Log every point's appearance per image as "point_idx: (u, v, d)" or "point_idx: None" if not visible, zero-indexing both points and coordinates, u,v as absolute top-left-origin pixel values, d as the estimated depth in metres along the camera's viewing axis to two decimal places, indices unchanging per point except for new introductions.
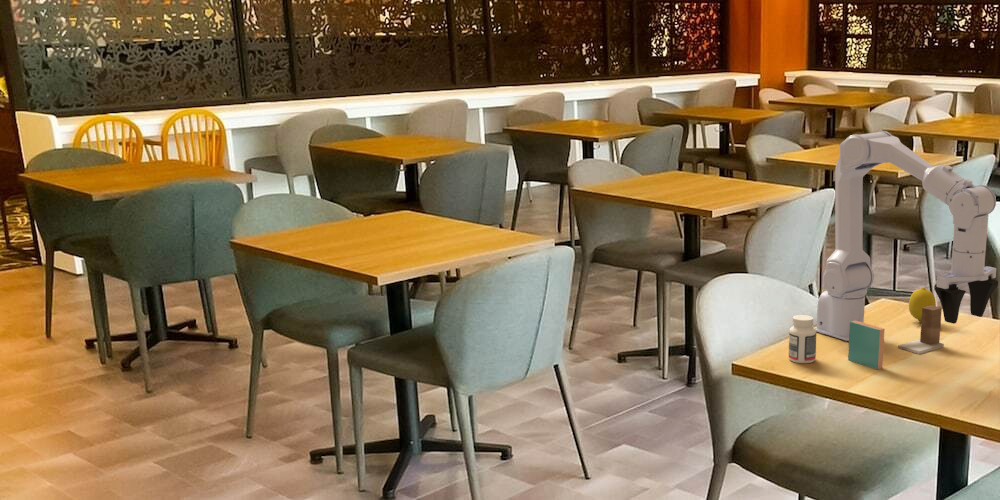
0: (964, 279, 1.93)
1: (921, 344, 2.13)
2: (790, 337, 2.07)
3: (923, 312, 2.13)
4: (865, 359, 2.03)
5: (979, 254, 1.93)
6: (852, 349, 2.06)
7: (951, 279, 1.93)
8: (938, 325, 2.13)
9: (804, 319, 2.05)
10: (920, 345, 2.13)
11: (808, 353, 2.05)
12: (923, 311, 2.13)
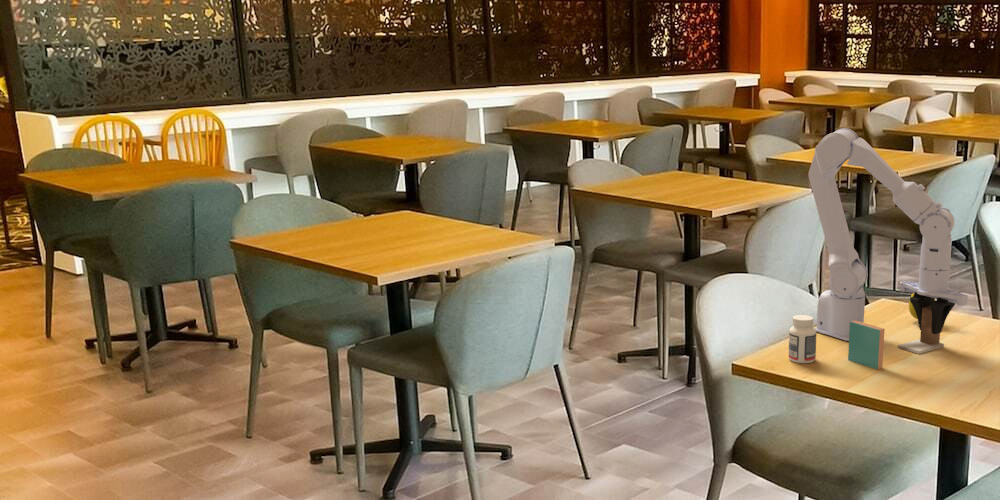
0: (912, 288, 2.14)
1: (921, 344, 2.13)
2: (790, 337, 2.07)
3: (923, 312, 2.13)
4: (865, 359, 2.03)
5: (923, 270, 2.10)
6: (852, 349, 2.06)
7: (905, 284, 2.17)
8: None
9: (804, 319, 2.05)
10: (920, 345, 2.13)
11: (808, 353, 2.05)
12: (923, 311, 2.13)
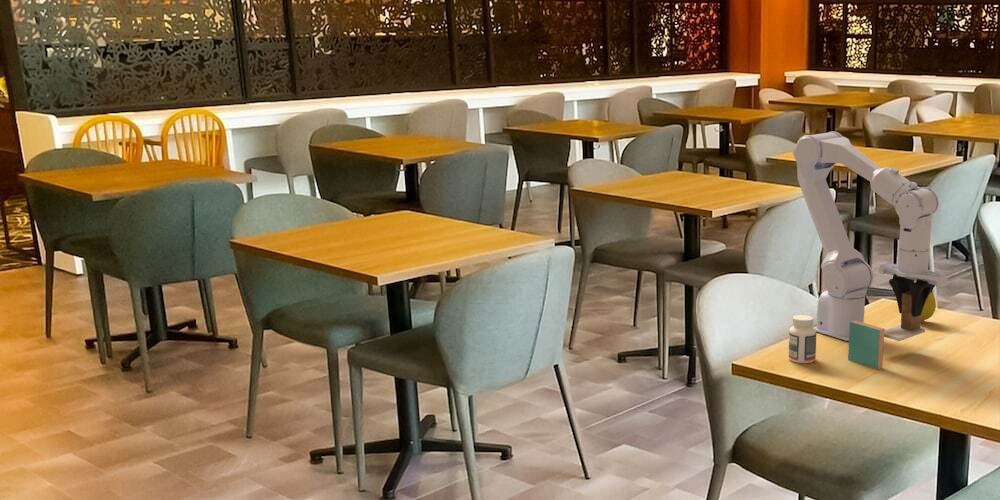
0: (891, 270, 2.10)
1: (902, 330, 2.09)
2: (790, 337, 2.07)
3: (903, 298, 2.09)
4: (865, 359, 2.03)
5: (902, 251, 2.06)
6: (852, 349, 2.06)
7: (884, 266, 2.12)
8: None
9: (804, 319, 2.05)
10: (901, 331, 2.09)
11: (808, 353, 2.05)
12: (903, 297, 2.09)
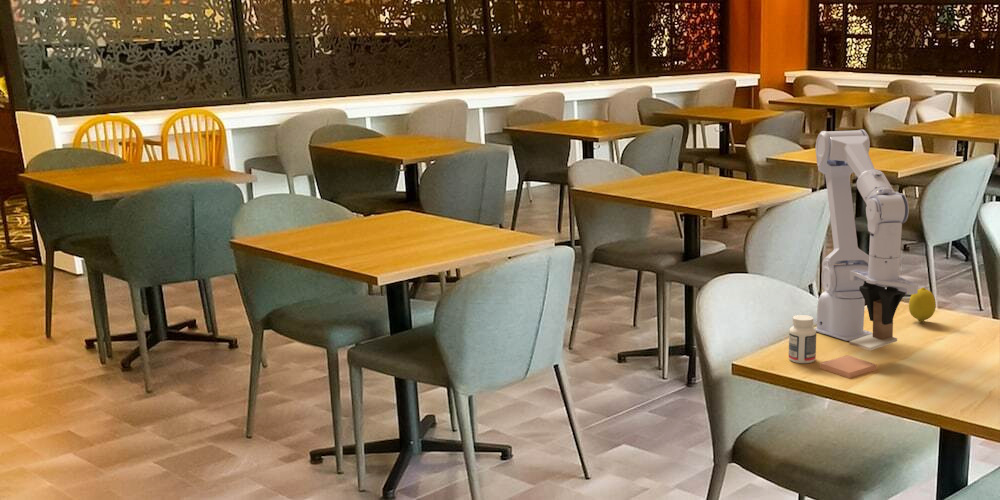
0: (862, 277, 2.05)
1: (873, 339, 2.05)
2: (790, 337, 2.07)
3: (874, 306, 2.05)
4: None
5: (872, 257, 2.01)
6: None
7: (855, 273, 2.07)
8: None
9: (804, 319, 2.05)
10: (872, 340, 2.04)
11: (808, 353, 2.05)
12: (874, 305, 2.05)
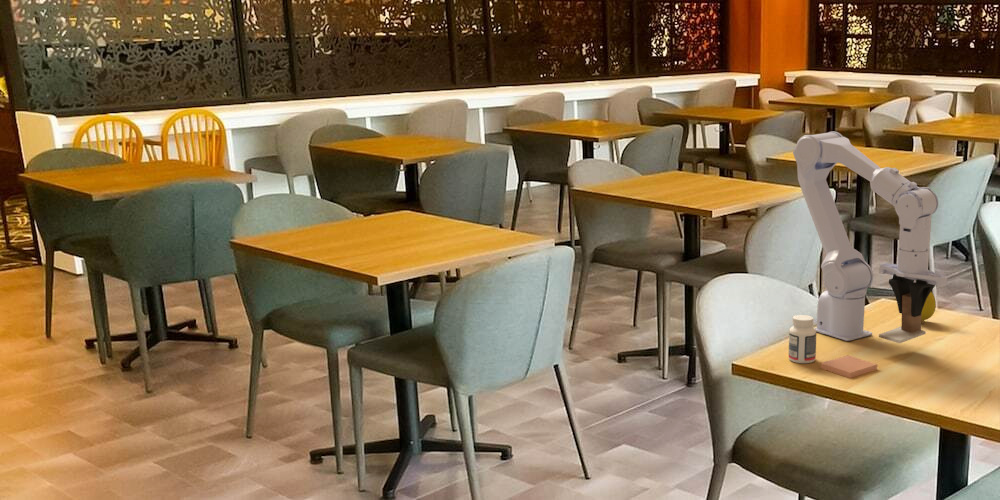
0: (891, 270, 2.09)
1: (902, 332, 2.09)
2: (790, 337, 2.07)
3: (903, 300, 2.09)
4: None
5: (902, 251, 2.06)
6: None
7: (884, 266, 2.12)
8: None
9: (804, 319, 2.05)
10: (901, 333, 2.09)
11: (808, 353, 2.05)
12: (903, 299, 2.09)
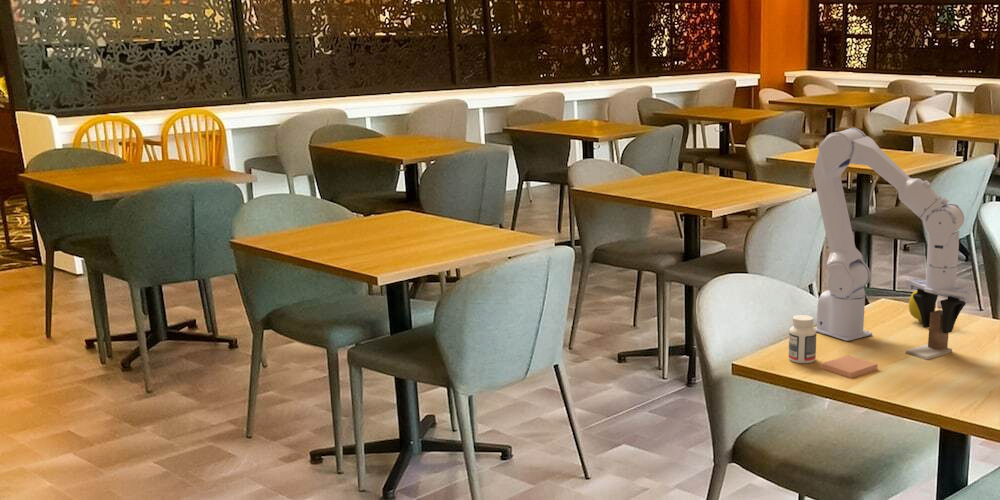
0: (919, 286, 2.10)
1: (929, 349, 2.10)
2: (790, 337, 2.07)
3: (931, 317, 2.10)
4: None
5: (930, 267, 2.07)
6: None
7: (911, 282, 2.13)
8: None
9: (804, 319, 2.05)
10: (928, 350, 2.10)
11: (808, 353, 2.05)
12: (931, 316, 2.10)
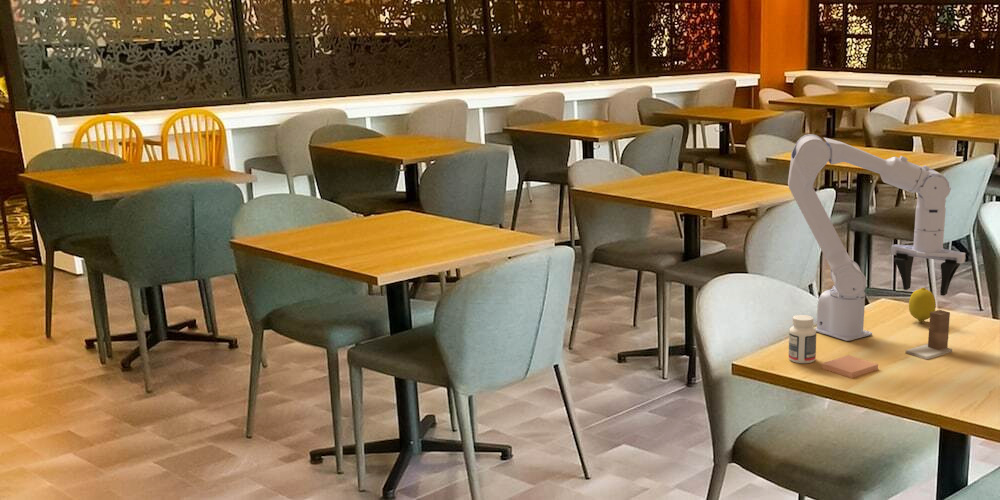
0: (907, 250, 2.17)
1: (929, 349, 2.10)
2: (790, 337, 2.07)
3: (931, 317, 2.10)
4: None
5: (921, 231, 2.14)
6: None
7: (897, 247, 2.19)
8: (946, 330, 2.10)
9: (804, 319, 2.05)
10: (928, 350, 2.10)
11: (808, 353, 2.05)
12: (931, 316, 2.10)
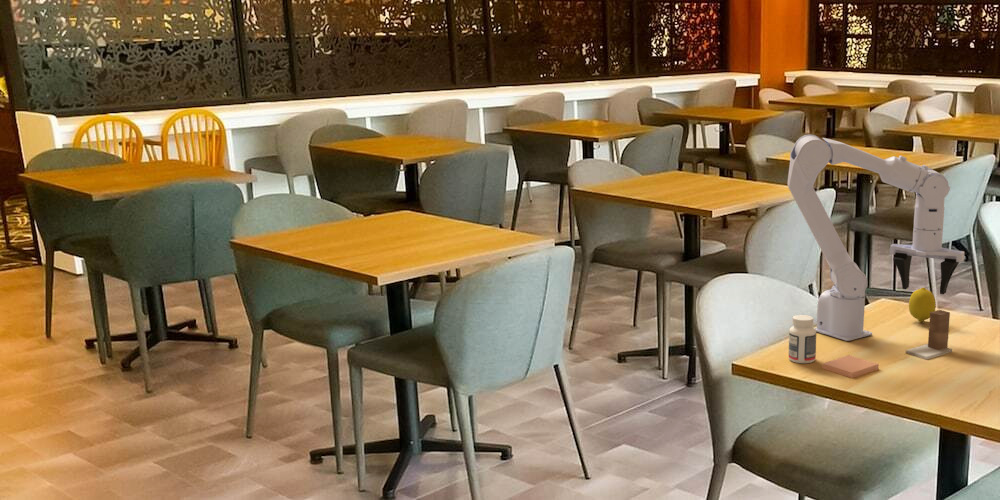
0: (907, 250, 2.17)
1: (929, 349, 2.10)
2: (790, 337, 2.07)
3: (931, 317, 2.10)
4: None
5: (920, 231, 2.14)
6: None
7: (896, 247, 2.20)
8: (946, 330, 2.10)
9: (803, 319, 2.05)
10: (928, 350, 2.10)
11: (808, 353, 2.05)
12: (931, 316, 2.10)
